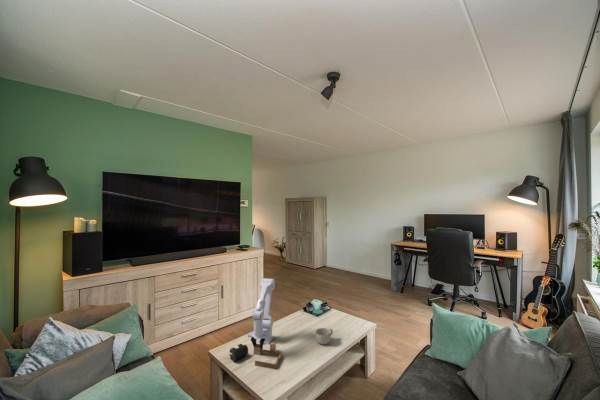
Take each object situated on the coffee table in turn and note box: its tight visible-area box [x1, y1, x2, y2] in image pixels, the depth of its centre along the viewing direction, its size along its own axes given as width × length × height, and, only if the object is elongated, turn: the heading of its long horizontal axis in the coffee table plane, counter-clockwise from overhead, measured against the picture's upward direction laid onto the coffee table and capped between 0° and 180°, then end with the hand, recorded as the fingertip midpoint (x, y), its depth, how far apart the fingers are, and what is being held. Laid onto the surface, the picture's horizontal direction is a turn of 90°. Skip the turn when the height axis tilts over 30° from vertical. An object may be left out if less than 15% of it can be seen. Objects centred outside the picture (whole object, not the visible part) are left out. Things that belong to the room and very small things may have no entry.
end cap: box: [229, 343, 249, 362], centre depth 165 cm, size 10×7×7 cm
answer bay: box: [254, 349, 283, 370], centre depth 162 cm, size 13×14×2 cm
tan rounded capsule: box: [269, 342, 277, 352], centre depth 172 cm, size 4×4×5 cm
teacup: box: [315, 327, 334, 346], centre depth 184 cm, size 14×11×8 cm
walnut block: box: [253, 343, 264, 356], centre depth 171 cm, size 4×4×4 cm
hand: (258, 348), depth 171 cm, fingers closed on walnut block, 4 cm apart
